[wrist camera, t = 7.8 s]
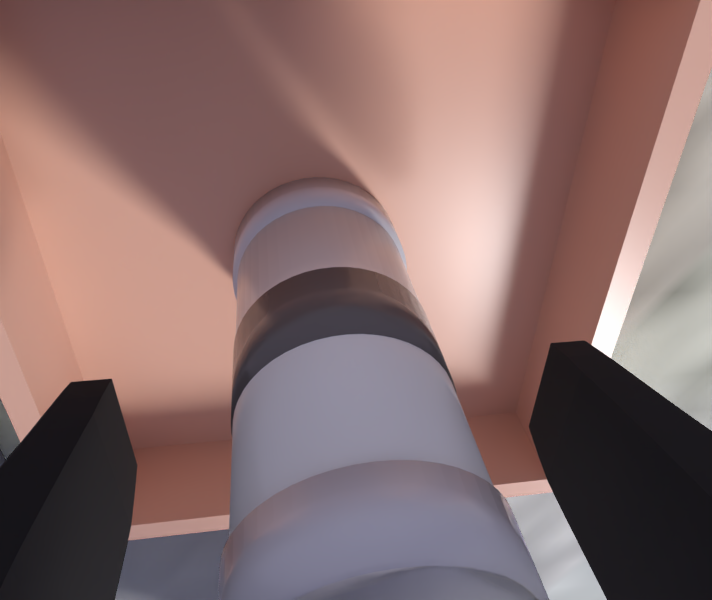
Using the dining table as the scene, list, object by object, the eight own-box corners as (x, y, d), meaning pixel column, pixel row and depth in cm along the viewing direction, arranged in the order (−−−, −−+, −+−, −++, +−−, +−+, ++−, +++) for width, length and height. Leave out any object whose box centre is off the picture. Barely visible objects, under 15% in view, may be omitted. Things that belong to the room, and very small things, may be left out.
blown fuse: (400, 173, 13) (589, 537, 6) (391, 312, 15) (521, 704, 8) (225, 180, 13) (190, 589, 5) (241, 323, 15) (233, 752, 8)
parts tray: (649, -74, 11) (756, -61, 9) (524, 412, 19) (564, 490, 17) (-97, -83, 10) (-212, -70, 7) (93, 454, 17) (68, 547, 15)
